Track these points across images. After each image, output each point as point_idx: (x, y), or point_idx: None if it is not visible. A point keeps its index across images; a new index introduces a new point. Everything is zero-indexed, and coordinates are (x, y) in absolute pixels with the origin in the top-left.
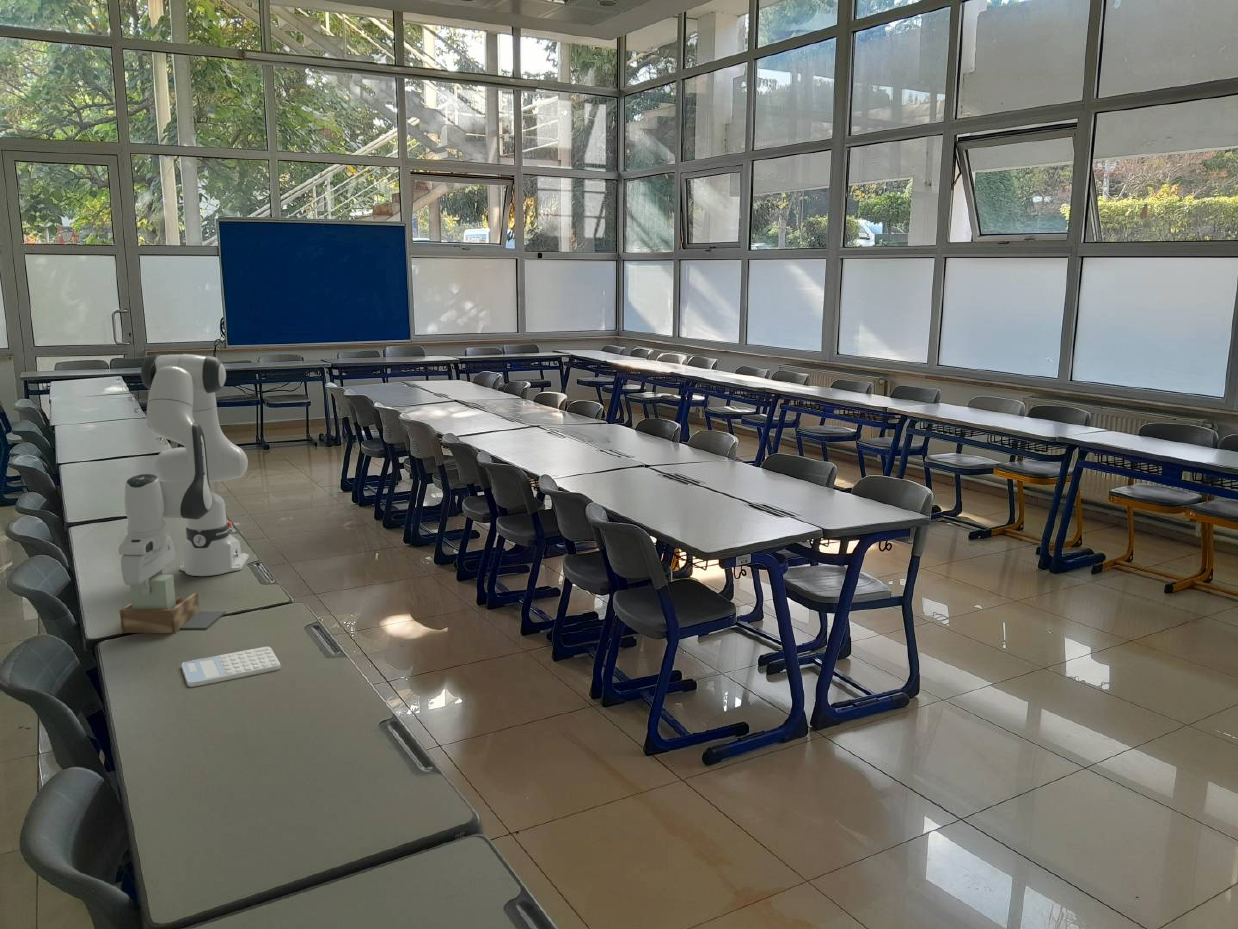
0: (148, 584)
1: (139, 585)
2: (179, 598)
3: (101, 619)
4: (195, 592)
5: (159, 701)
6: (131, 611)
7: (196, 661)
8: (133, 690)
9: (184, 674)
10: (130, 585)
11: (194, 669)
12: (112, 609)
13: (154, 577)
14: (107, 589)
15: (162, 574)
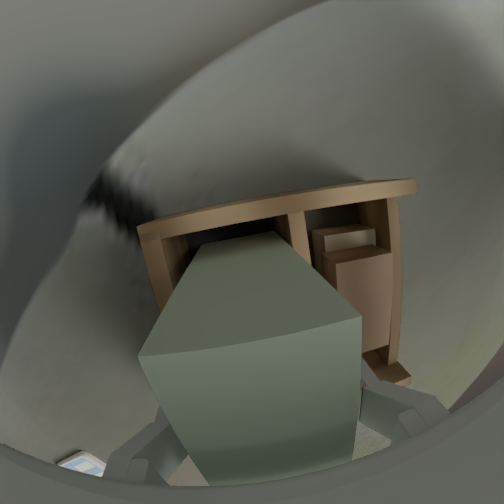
0: (171, 474)
1: (128, 441)
2: (378, 346)
3: (274, 55)
4: (410, 379)
5: (21, 443)
6: (154, 286)
7: (99, 469)
8: (10, 412)
9: (65, 461)
10: (155, 330)
11: (81, 469)
12: (361, 46)
13: (288, 472)
14: (445, 5)
15: (388, 437)
